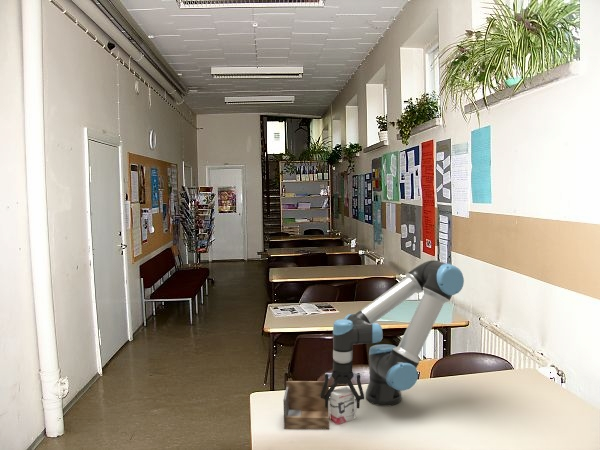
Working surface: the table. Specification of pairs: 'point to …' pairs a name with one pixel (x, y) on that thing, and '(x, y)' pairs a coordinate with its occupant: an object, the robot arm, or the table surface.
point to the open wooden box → (305, 405)
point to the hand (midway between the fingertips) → (342, 415)
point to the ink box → (341, 405)
